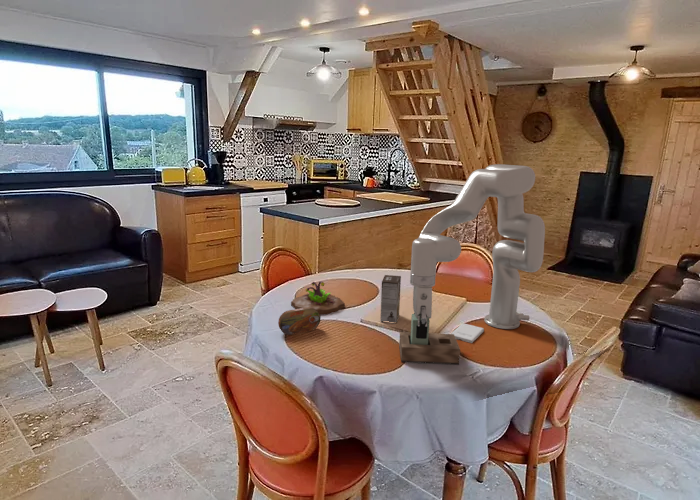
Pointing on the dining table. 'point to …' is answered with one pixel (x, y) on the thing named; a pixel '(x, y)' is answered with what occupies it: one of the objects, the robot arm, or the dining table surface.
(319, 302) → the plant
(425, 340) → the square peg
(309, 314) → the tin
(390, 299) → the coffee box
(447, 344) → the socket block
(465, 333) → the external hard drive
